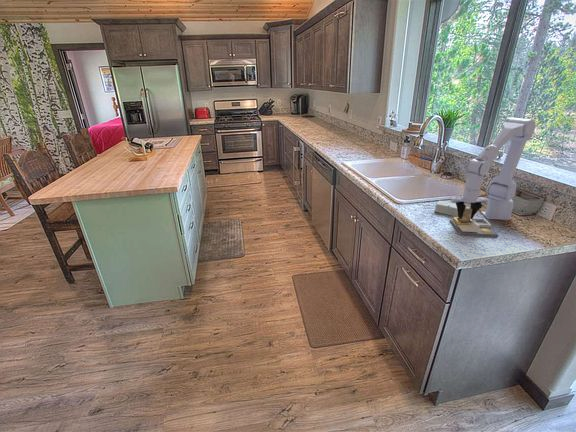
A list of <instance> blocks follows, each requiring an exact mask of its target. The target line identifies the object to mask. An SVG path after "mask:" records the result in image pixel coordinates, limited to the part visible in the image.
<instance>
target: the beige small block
mask: <svg viewBox="0 0 576 432" xmlns="http://www.w3.org/2000/svg"><path fill="white" fill-rule="evenodd" d="M470 207H471V206H466V208H465V210H464V212H463V216H462V219H459V221H460V222H463V223H469V222H470V218H471V214H472V210H473V209H472V208H470Z"/></svg>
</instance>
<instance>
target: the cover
mask: <svg viewBox="0 0 576 432" xmlns="http://www.w3.org/2000/svg"><path fill="white" fill-rule="evenodd" d="M479 226H480V225H479V224H478V223H477V222H476V221H475V220H472V223H471V225H458V227H459V228H460V229H461V230H462V231H465V232H478V230H479Z"/></svg>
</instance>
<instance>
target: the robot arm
mask: <svg viewBox="0 0 576 432" xmlns="http://www.w3.org/2000/svg"><path fill="white" fill-rule="evenodd" d="M536 126H537V124H536V121H535V119H534V118H530V119H529V118H518V117H513V116H512V117H510V116H509V117H506V119H505V120H504V121H503V123H502V124H501V128H500V129H501V131H500V133H499V134H498V135H497V137H496V138H495V139H494V141H493V142H492V143H491V144H490V145H486V146H485V147H484V148H483V149H482V150H481V151H480V153H479V154H477V156H476V157H475V158H474V159H473V158H472V159H470V160H469V161H468V162H467V164H466V166H465V171H466V174H465V176H466V180H465V185H464V188H463V192H462V193H463V194H462V196H454V197H452V196H451V197H450V203H454V204H456V206H457V210H458V218H459V219H462V216H463V212H464V210H465V208H466V207H467V205H466V203H467V204H468V203H469V204H470V206H469V207H470V208H472V209H473V210H472V214H471V218H470V219H473V218H475V215H476V214H477V213H478V211H479V210H480V209H481V208H482V207H483V204H487V205H486V207H485V211H481V212H480V213H481V214H482V215H484V217H485V218H487V219H488V220H503V221H504V220H505V221H510V220H511V216H512V213H513V210H514V207H515V205H514V200H513V198H515V196H516V192H517V186H518V183H516V181H515V180H514V179H513V176H514V175H515V173H516V169H517V167H518V165H519V162H520V159H521V157H522V154H523V152H524V149H525V147H526V144H527V142H528V141H530V140H531V139H532V138H533V135H534V132H535V129H536ZM509 141H510V142H511V143H510V145H509V148H508V150H507V152H506V156H505V158H504V161H503V164H502V166H501V169H500V171H499V174H498V176H497V177H494V178H491V180H490V183H489V184H488V185H487V187H486V195H487V197H488V198H487V197H481V196H480V193H481V187H482V186H483V185H482V184H483V181H484V176H485V175H487V174H488V173H489V170H490V168H491V167H492V163H493V162H494V161H495V159H496V158H497V157H498V156H499V155H500V153H501V152H500V150H501V149H502V148H503V146H505V145H506V144H507V143H508V142H509Z"/></svg>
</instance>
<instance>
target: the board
mask: <svg viewBox="0 0 576 432" xmlns="http://www.w3.org/2000/svg"><path fill="white" fill-rule="evenodd" d="M472 220H475V221H476V222H477V223H478V224H479V225H480V226H479V230H478V232H465V231H462V230H461V229H460V228H459V227H458V225H471V223H472ZM449 223H450V224H451V225H452V227H453V228H454V229H455V230H456V232H457V233H459V235H460V236H464V237H465V236H467V237H468V236H470V237H489V238H498V236H499V234H498V233H497V232H496V231H495V230H494V229H493V228H492V224H491V223H490V222H489V221H488V220H487V219H486V217H484V218H483V217H473V219H470V222H469V223H463V222H460V221H459V218H458V217H456V216H453V217H452V218H450V219H449Z"/></svg>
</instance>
